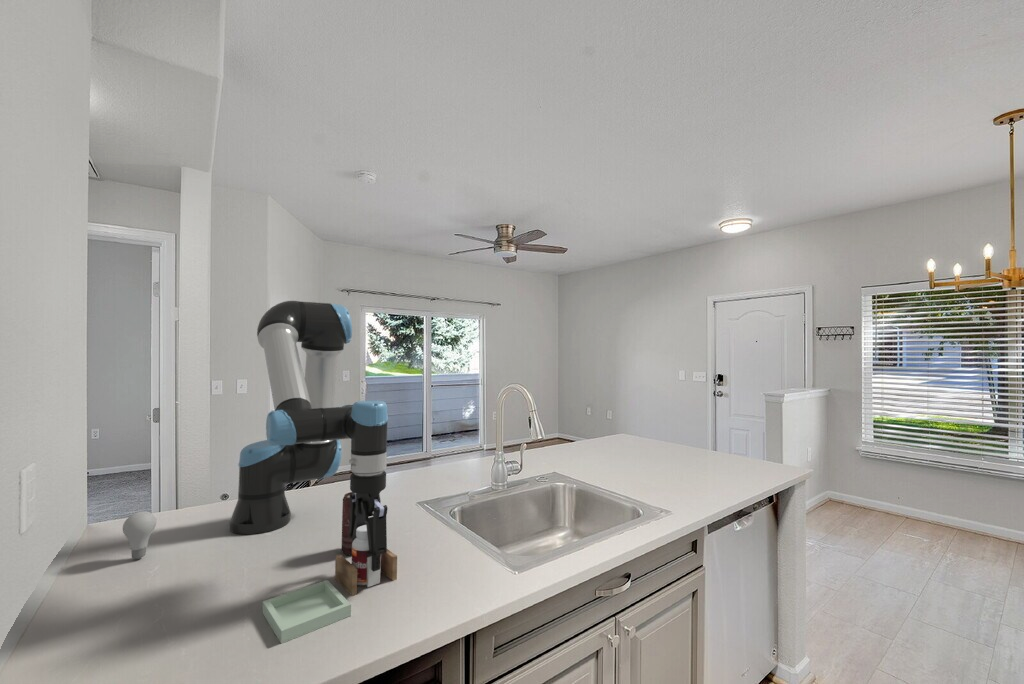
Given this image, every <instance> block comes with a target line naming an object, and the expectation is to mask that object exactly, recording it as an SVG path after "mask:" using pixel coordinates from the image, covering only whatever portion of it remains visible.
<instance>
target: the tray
mask: <svg viewBox="0 0 1024 684" xmlns="http://www.w3.org/2000/svg"><path fill="white" fill-rule="evenodd" d="M262 614H263V615H264V617H265V619H266V622H267V623H268V624H269V626H270V627H271V629H272V631H273V633H274V634H275V636H276V637H277V639H278V641H279V642H280V644H284V643H286V642H289V641H291V640H294V639H296V638H298V637H302V636H304V635H306V634H309V633H311V632H314V631H316V630H319V629H321V628H323V627H326V626H328V625H331V624H334V623H336V622H340V621H341V620H344V619H346V618H349V617H351V615H352V604H351V602H349V601H348V600H347V599H346V598H345V596H344V595H342V593H341V592H340V591H339V590H338V589H337V588H336V587H334V585H333V584H332V583H331V582H330V581H329V580H328V579H326V580H323V581H320V582H319V581H318V582H317V583H314V584H310V585H308V586H303V587H301V588H298V589H296V590H292V591H289V592H286V593H284V594H281V595H278V596H275V597H272V598H269V599H266V600H263V601H262Z"/></svg>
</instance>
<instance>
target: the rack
mask: <svg viewBox="0 0 1024 684" xmlns="http://www.w3.org/2000/svg"><path fill="white" fill-rule="evenodd" d="M334 562H335V564H334V565H335V566H334V569H335V570H334V580H336V582H337V583H338V584H339V585H341V586H342V587H343V589H344V590H346V592H348V593H349V595H351V596H355V595H357V594H358V585H357V568H355V567H354V566H353V565H352V564H351V563H352V562H350V561H349V560H347V558H345V557H344V556H343V555H342V554H340V553H339V554H336V555H335V561H334ZM381 573H382V574H383V575H385V576H386V577H387V578H389V579H390V580H391V581H395V580H397V579H398V555H397V554H395V553H394V552H392V551H391V550H390V549H388V548H387V552H386V553H383V554H381Z"/></svg>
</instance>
